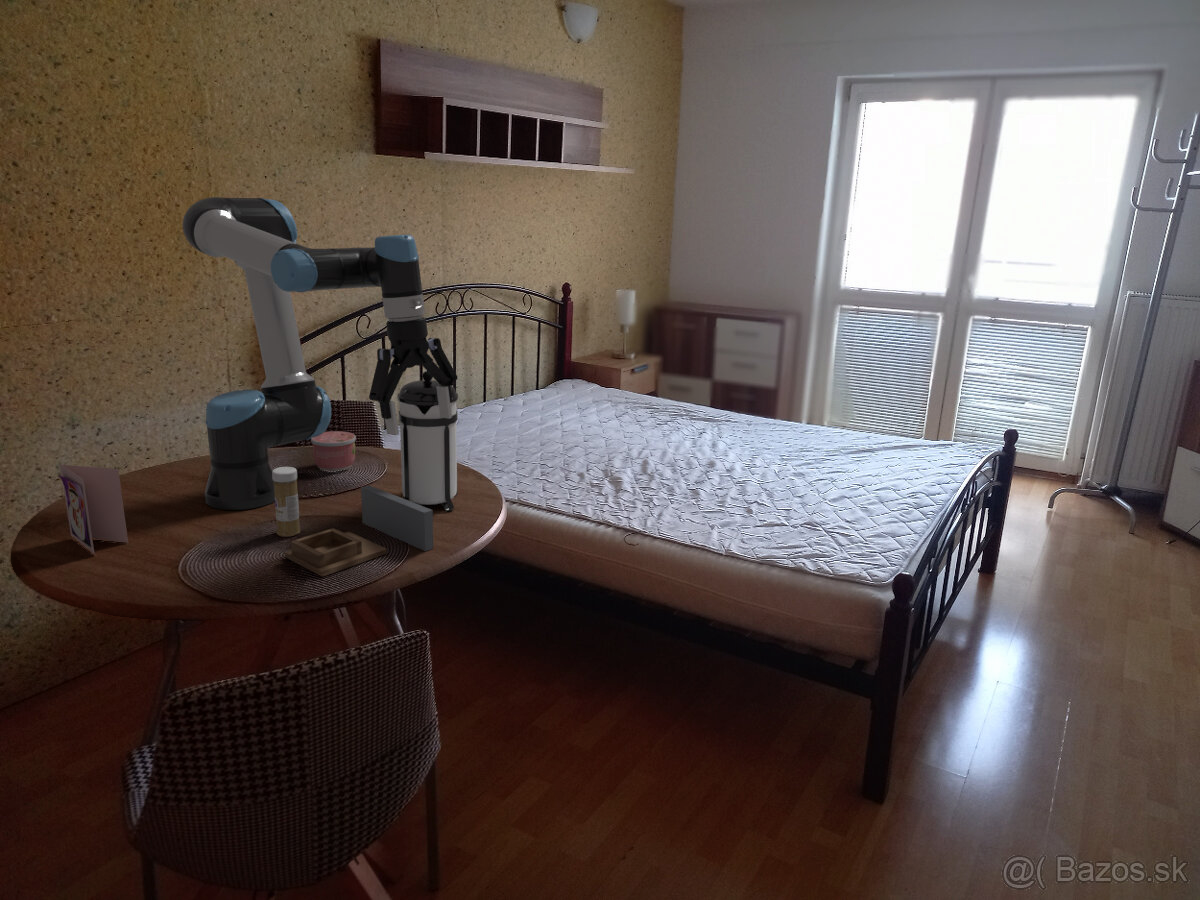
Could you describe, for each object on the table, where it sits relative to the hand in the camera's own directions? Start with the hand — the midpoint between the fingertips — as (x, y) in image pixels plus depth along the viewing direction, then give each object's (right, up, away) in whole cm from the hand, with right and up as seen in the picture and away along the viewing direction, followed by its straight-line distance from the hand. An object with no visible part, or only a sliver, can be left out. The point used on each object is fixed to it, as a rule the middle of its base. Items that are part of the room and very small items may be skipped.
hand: (420, 425), depth 164 cm
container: (-30, -9, +42) cm, 52 cm away
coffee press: (-3, -16, +23) cm, 28 cm away
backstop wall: (-5, -22, +3) cm, 23 cm away
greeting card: (-60, -23, -6) cm, 64 cm away
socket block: (-14, -25, -8) cm, 30 cm away
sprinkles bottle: (-27, -22, +2) cm, 35 cm away
